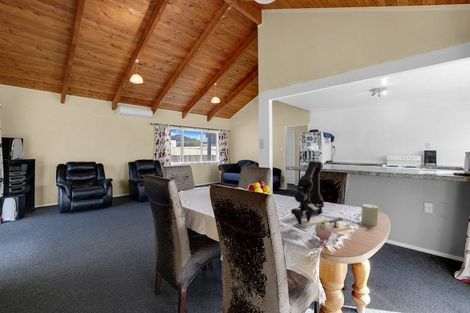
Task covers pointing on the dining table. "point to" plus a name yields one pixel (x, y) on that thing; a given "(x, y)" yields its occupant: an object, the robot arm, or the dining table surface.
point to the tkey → (336, 221)
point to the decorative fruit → (323, 231)
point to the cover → (305, 223)
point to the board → (338, 229)
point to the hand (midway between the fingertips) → (304, 223)
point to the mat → (298, 228)
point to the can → (369, 214)
